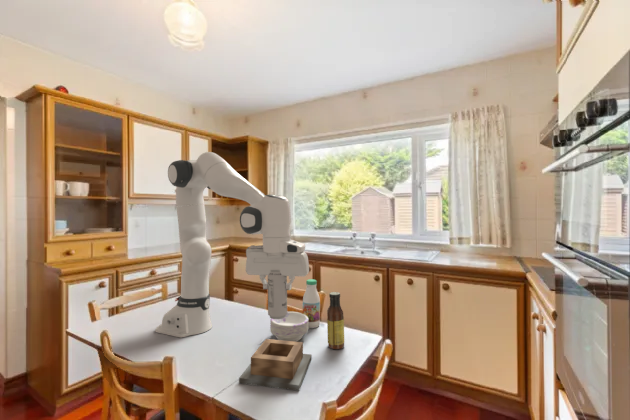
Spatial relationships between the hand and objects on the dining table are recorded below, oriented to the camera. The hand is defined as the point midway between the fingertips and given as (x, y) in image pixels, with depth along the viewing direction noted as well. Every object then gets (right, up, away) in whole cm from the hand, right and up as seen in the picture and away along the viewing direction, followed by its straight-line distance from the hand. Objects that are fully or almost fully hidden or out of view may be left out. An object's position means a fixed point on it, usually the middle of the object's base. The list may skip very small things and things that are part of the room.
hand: (277, 289), depth 91 cm
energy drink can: (0, -9, 0) cm, 9 cm away
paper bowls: (+2, -26, +24) cm, 36 cm away
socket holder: (0, -26, 0) cm, 26 cm away
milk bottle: (+10, -26, +37) cm, 46 cm away
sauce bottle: (+20, -26, +17) cm, 37 cm away
